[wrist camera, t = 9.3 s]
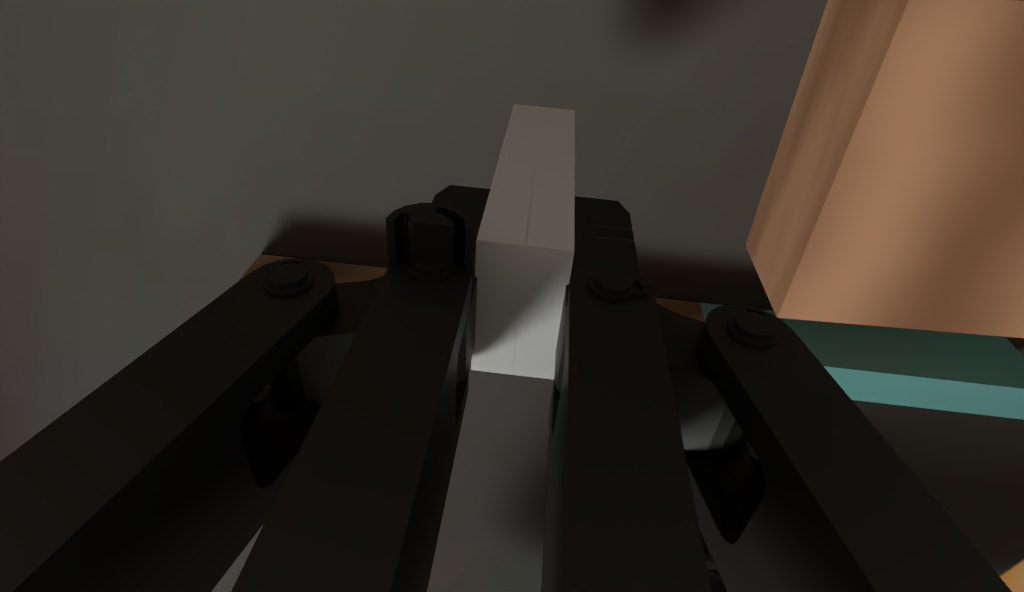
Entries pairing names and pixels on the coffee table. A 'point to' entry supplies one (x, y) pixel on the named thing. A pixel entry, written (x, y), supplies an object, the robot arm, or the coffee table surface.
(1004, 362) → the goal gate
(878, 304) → the wooden block
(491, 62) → the coffee table surface
